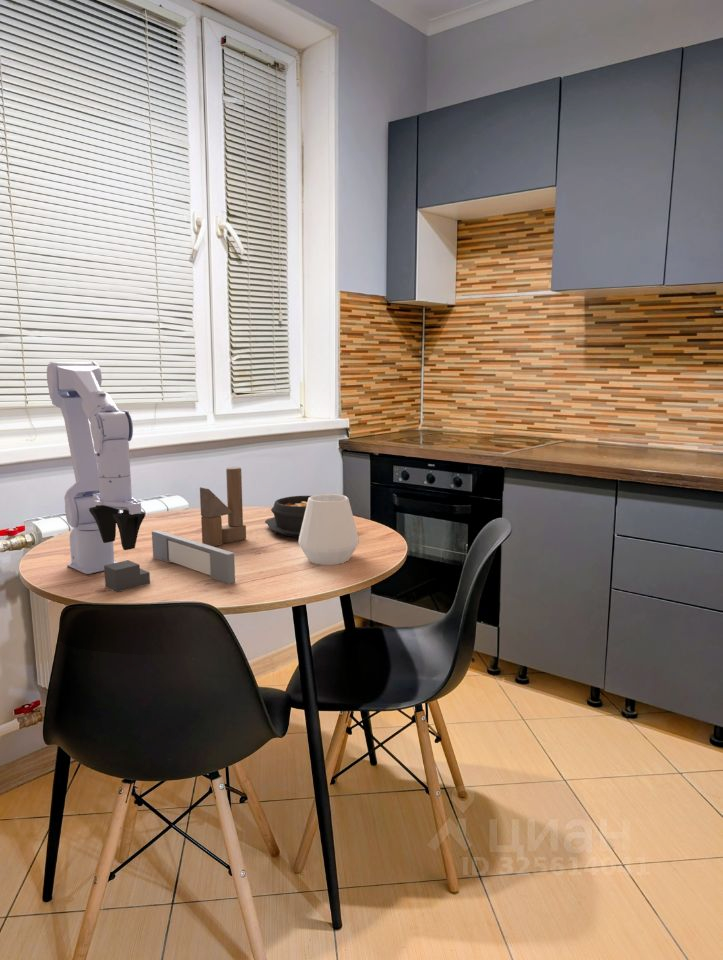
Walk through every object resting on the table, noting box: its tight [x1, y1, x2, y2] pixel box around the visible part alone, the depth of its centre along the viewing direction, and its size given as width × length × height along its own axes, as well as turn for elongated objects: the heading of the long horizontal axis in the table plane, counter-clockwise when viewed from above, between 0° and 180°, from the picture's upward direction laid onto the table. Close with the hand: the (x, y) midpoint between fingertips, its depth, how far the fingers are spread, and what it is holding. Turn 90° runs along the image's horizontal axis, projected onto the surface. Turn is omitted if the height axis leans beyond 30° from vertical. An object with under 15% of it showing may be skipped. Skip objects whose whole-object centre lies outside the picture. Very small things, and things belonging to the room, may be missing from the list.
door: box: [168, 540, 211, 576], centre depth 142 cm, size 15×1×5 cm, turn 48°
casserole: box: [264, 495, 312, 538], centre depth 173 cm, size 25×19×8 cm
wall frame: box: [151, 529, 236, 585], centre depth 142 cm, size 28×2×6 cm, turn 48°
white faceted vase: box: [297, 493, 360, 566], centre depth 148 cm, size 13×13×14 cm
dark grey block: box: [103, 560, 151, 593], centre depth 131 cm, size 4×7×4 cm, turn 137°
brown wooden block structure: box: [199, 466, 247, 547], centre depth 162 cm, size 4×11×18 cm, turn 138°
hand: (118, 545), depth 129 cm, fingers open, 7 cm apart
